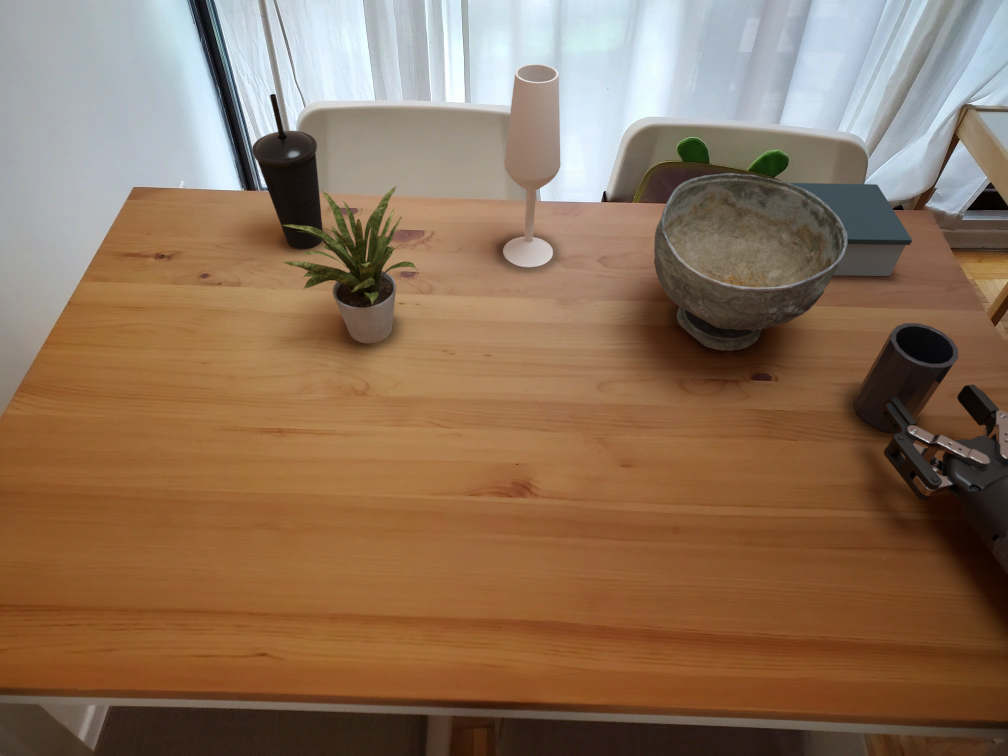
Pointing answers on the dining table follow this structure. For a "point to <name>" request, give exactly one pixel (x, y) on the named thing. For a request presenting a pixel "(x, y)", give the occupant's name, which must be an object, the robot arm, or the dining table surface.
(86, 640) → the dining table surface
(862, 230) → the container
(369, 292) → the house plant
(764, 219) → the bowl
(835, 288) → the dining table surface
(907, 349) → the cup
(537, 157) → the champagne flute
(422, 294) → the dining table surface
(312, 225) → the drinking cup
